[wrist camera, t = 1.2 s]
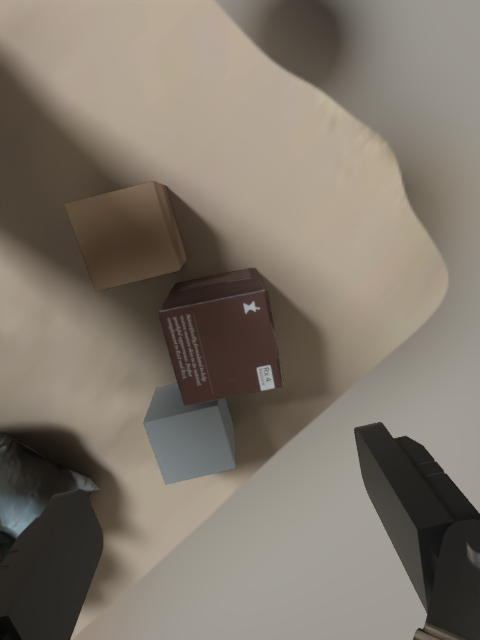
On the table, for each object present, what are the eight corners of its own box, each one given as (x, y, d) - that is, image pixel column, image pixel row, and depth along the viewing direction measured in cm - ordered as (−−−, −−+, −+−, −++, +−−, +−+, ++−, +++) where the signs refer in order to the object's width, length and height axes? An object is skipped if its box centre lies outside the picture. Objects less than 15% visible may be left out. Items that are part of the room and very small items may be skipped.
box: (173, 281, 27) (155, 308, 20) (256, 265, 27) (268, 286, 20) (192, 359, 29) (182, 408, 22) (270, 344, 29) (285, 389, 22)
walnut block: (94, 204, 25) (63, 203, 20) (166, 186, 25) (152, 181, 20) (118, 276, 27) (95, 291, 22) (187, 259, 26) (178, 270, 22)
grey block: (156, 387, 29) (143, 422, 24) (218, 372, 29) (217, 405, 24) (174, 441, 31) (165, 484, 26) (234, 427, 31) (236, 468, 26)
